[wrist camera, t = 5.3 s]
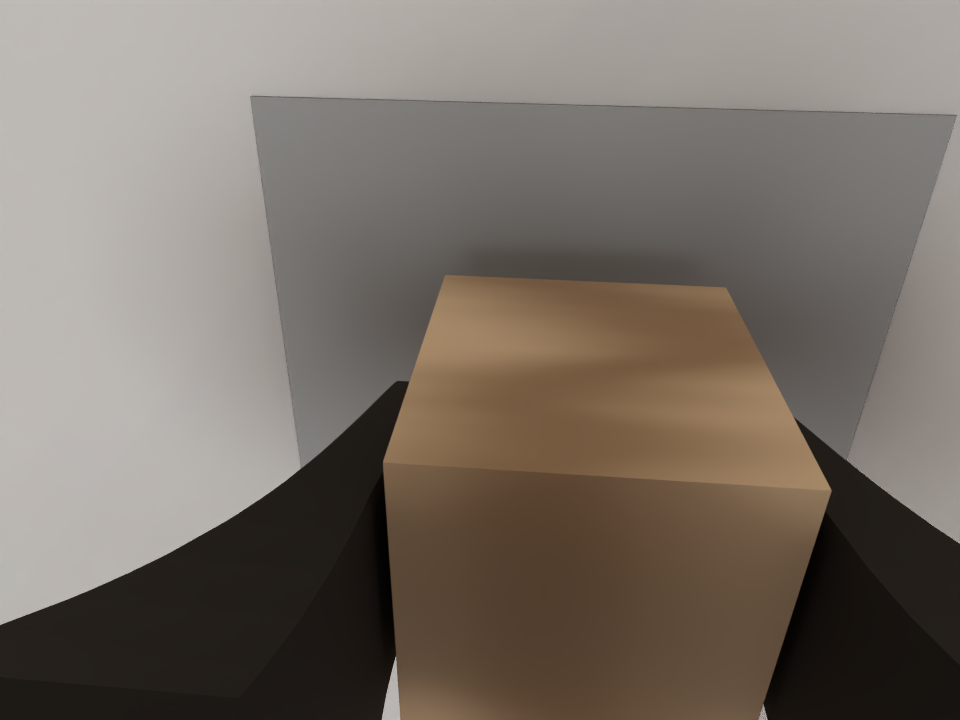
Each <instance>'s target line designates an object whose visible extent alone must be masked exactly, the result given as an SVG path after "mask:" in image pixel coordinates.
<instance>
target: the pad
mask: <svg viewBox="0 0 960 720" xmlns="http://www.w3.org/2000/svg"><path fill="white" fill-rule="evenodd" d="M250 99H251V106H252V113H253V121H254V128H255V135H256V142H257V150H258V157H259V164H260V172H261V179H262V186H263V193H264V201H265V208H266V215H267V223H268V230H269V237H270V244H271V252H272V259H273V266H274V274H275V281H276V288H277V295H278V303H279V310H280V317H281V325H282V332H283V339H284V346H285V354H286V361H287V368H288V376H289V383H290V390H291V397H292V405H293V412H294V419H295V427H296V434H297V441H298V448H299V456H300V463H301V468H302V467H304V466H305V465H306V464H307V463H309V462H310V461H311V460H312V459H313V458H315V457H316V456H317V455H318V454H319V453H321V452H322V451H323V450H324V449H325V448H326V447H327V446H328V445H330V444H331V443H332V442H333V441H334V440H335V439H336V438H337V437H338V436H339V435H340V434H342V433H343V432H344V431H345V430H346V429H347V428H348V427H349V426H350V425H351V424H352V423H353V422H354V421H356V420H357V419H358V418H359V417H360V416H361V415H362V414H363V413H364V412H365V411H366V410H367V409H368V408H369V407H370V406H371V405H372V404H373V403H374V402H375V401H376V400H377V399H378V398H379V397H380V396H381V395H382V394H383V393H384V392H385V391H386V390H387V389H388V388H389V387H390V386H391V385H393V384H394V383H395V382H396V381H410V379H411V376H412V373H413V370H414V367H415V364H416V361H417V358H418V355H419V352H420V349H421V346H422V343H423V340H424V337H425V334H426V331H427V328H428V325H429V322H430V319H431V316H432V313H433V310H434V307H435V304H436V301H437V298H438V295H439V292H440V289H441V286H442V283H443V280H444V277H445V275H456V276H479V277H502V278H524V279H547V280H570V281H592V282H615V283H638V284H660V285H683V286H706V287H726V289H727V290H728V292H729V294H730V296H731V298H732V300H733V302H734V304H735V306H736V308H737V310H738V312H739V314H740V315H741V317H742V319H743V321H744V323H745V325H746V327H747V329H748V331H749V333H750V335H751V337H752V338H753V340H754V342H755V344H756V346H757V348H758V350H759V352H760V354H761V356H762V358H763V360H764V362H765V363H766V365H767V367H768V369H769V371H770V373H771V375H772V377H773V379H774V381H775V383H776V385H777V387H778V388H779V390H780V392H781V394H782V396H783V398H784V400H785V402H786V404H787V406H788V408H789V410H790V412H791V413H792V415H793V417H794V418H796V419H797V420H798V421H799V422H801V423H802V424H803V425H804V426H805V427H807V428H808V429H809V430H810V431H811V432H813V433H814V434H815V435H816V436H817V437H819V438H820V439H821V440H822V441H823V442H825V443H826V444H827V445H828V446H829V447H831V448H832V449H833V450H834V451H835V452H837V453H838V454H839V455H840V456H841V457H843V458H844V459H845V460H846V459H847V456H848V453H849V450H850V447H851V444H852V441H853V438H854V435H855V431H856V428H857V425H858V422H859V419H860V416H861V413H862V410H863V407H864V403H865V400H866V397H867V394H868V391H869V388H870V385H871V382H872V379H873V375H874V372H875V369H876V366H877V363H878V360H879V357H880V354H881V351H882V347H883V344H884V341H885V338H886V335H887V332H888V329H889V326H890V323H891V319H892V316H893V313H894V310H895V307H896V304H897V301H898V298H899V295H900V291H901V288H902V285H903V282H904V279H905V276H906V273H907V270H908V266H909V263H910V260H911V257H912V254H913V251H914V248H915V245H916V242H917V238H918V235H919V232H920V229H921V226H922V223H923V220H924V217H925V214H926V210H927V207H928V204H929V201H930V198H931V195H932V192H933V189H934V186H935V182H936V179H937V176H938V173H939V170H940V167H941V164H942V161H943V158H944V154H945V151H946V148H947V145H948V142H949V139H950V136H951V133H952V130H953V126H954V123H955V120H956V117H957V116H956V115H932V114H895V113H858V112H821V111H785V110H748V109H711V108H674V107H637V106H600V105H563V104H526V103H489V102H452V101H415V100H378V99H341V98H304V97H267V96H251V97H250Z"/></svg>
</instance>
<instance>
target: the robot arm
mask: <svg viewBox="0 0 960 720" xmlns="http://www.w3.org/2000/svg"><path fill="white" fill-rule="evenodd" d="M409 382H410V381H396V382H395V383H394V384H393V385H391V386H390V387H389V388H388V389H387V390H386V391H385V392H384V393H383V394H382V395H381V396H380V397H379V398H378V399H377V400H376V401H375V402H374V403H373V404H372V405H371V406H370V407H369V408H368V409H367V410H366V411H365V412H364V413H363V414H362V415H361V416H360V417H359V418H358V419H357V420H356V421H354V422H353V423H352V424H351V425H350V426H349V427H348V428H347V429H346V430H345V431H344V432H343V433H342V434H340V435H339V436H338V437H337V438H336V439H335V440H334V441H333V442H332V443H331V444H330V445H328V446H327V447H326V448H325V449H324V450H323V451H322V452H321V453H319V454H318V455H317V456H316V457H315V458H313V459H312V460H311V461H310V462H309V463H307V464H306V465H305V466H304V467H302V468H301V469H300V470H299V471H297V472H296V473H295V474H294V475H293V476H291V477H290V478H289V479H288V480H286V481H285V482H284V483H282V484H281V485H280V486H278V487H277V488H276V489H274V490H273V491H271V492H270V493H269V494H267V495H266V496H264V497H263V498H261V499H260V500H258V501H257V502H255V503H254V504H252V505H251V506H249V507H248V508H246V509H245V510H243V511H242V512H240V513H239V514H237V515H236V516H234V517H232V518H231V519H229V520H227V521H226V522H224V523H222V524H221V525H219V526H217V527H215V528H213V529H212V530H210V531H208V532H206V533H205V534H203V535H201V536H199V537H197V538H196V539H194V540H192V541H190V542H188V543H187V544H185V545H183V546H181V547H179V548H178V549H176V550H174V551H172V552H171V553H169V554H167V555H165V556H163V557H161V558H159V559H157V560H155V561H153V562H151V563H149V564H147V565H144V566H142V567H140V568H138V569H136V570H134V571H132V572H130V573H128V574H126V575H123V576H121V577H119V578H117V579H114V580H112V581H110V582H108V583H105V584H103V585H101V586H99V587H97V588H94V589H92V590H90V591H87V592H85V593H82V594H80V595H78V596H75V597H73V598H70V599H68V600H65V601H63V602H60V603H57V604H55V605H52V606H49V607H47V608H44V609H42V610H39V611H36V612H34V613H31V614H28V615H26V616H23V617H20V618H18V619H15V620H12V621H10V622H7V623H4V624H2V625H0V720H382V714H383V709H384V703H385V698H386V693H387V689H388V684H389V680H390V676H391V672H392V668H393V664H394V660H395V657H396V646H395V631H394V617H393V602H392V588H391V573H390V559H389V544H388V530H387V516H386V501H385V487H384V472H383V460H384V457H385V454H386V451H387V448H388V445H389V442H390V439H391V436H392V433H393V430H394V427H395V424H396V421H397V418H398V415H399V412H400V409H401V406H402V403H403V400H404V397H405V394H406V391H407V388H408V385H409ZM794 419H795V421H796V423H797V425H798V427H799V429H800V431H801V433H802V435H803V436H804V438H805V440H806V442H807V444H808V446H809V448H810V450H811V452H812V454H813V456H814V458H815V460H816V461H817V463H818V465H819V467H820V469H821V471H822V473H823V475H824V477H825V479H826V481H827V483H828V485H829V486H830V488H831V490H832V491H831V494H830V497H829V500H828V504H827V507H826V510H825V513H824V516H823V519H822V522H821V525H820V529H819V532H818V535H817V538H816V541H815V544H814V547H813V550H812V553H811V557H810V560H809V563H808V566H807V569H806V572H805V575H804V578H803V582H802V585H801V588H800V591H799V594H798V597H797V600H796V603H795V606H794V610H793V613H792V616H791V619H790V622H789V625H788V628H787V631H786V634H785V638H784V641H783V644H782V647H781V650H780V653H779V656H778V659H777V663H776V666H775V669H774V672H773V675H772V678H771V681H770V684H769V687H768V691H767V694H766V697H765V700H764V703H763V704H764V707H765V711H766V715H767V719H768V720H960V544H959V543H958V542H956V541H955V540H953V539H952V538H950V537H949V536H947V535H946V534H944V533H943V532H941V531H940V530H938V529H937V528H935V527H934V526H932V525H931V524H929V523H928V522H927V521H925V520H924V519H923V518H921V517H920V516H918V515H917V514H916V513H914V512H913V511H911V510H910V509H909V508H907V507H906V506H904V505H903V504H902V503H900V502H899V501H898V500H896V499H895V498H893V497H892V496H891V495H890V494H888V493H887V492H886V491H884V490H883V489H882V488H880V487H879V486H878V485H876V484H875V483H874V482H873V481H871V480H870V479H869V478H868V477H866V476H865V475H864V474H862V473H861V472H860V471H859V470H857V469H856V468H855V467H854V466H852V465H851V464H850V463H849V462H848V461H846V460H845V459H844V458H843V457H841V456H840V455H839V454H838V453H837V452H835V451H834V450H833V449H832V448H831V447H829V446H828V445H827V444H826V443H825V442H823V441H822V440H821V439H820V438H819V437H817V436H816V435H815V434H814V433H813V432H811V431H810V430H809V429H808V428H807V427H805V426H804V425H803V424H802V423H801V422H799V421H798V420H797V419H796V418H794Z"/></svg>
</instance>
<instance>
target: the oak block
mask: <svg viewBox="0 0 960 720" xmlns="http://www.w3.org/2000/svg"><path fill="white" fill-rule="evenodd" d="M383 472H384V487H385V501H386V516H387V530H388V544H389V559H390V573H391V588H392V602H393V617H394V631H395V646H396V660H397V675H398V689H399V703H400V718H401V720H758V719H759V716H760V712H761V709H762V706H763V703H764V700H765V697H766V694H767V691H768V687H769V684H770V681H771V678H772V675H773V672H774V669H775V666H776V663H777V659H778V656H779V653H780V650H781V647H782V644H783V641H784V638H785V634H786V631H787V628H788V625H789V622H790V619H791V616H792V613H793V610H794V606H795V603H796V600H797V597H798V594H799V591H800V588H801V585H802V582H803V578H804V575H805V572H806V569H807V566H808V563H809V560H810V557H811V553H812V550H813V547H814V544H815V541H816V538H817V535H818V532H819V529H820V525H821V522H822V519H823V516H824V513H825V510H826V507H827V504H828V500H829V497H830V494H831V491H832V490H831V488H830V486H829V485H828V483H827V481H826V479H825V477H824V475H823V473H822V471H821V469H820V467H819V465H818V463H817V461H816V460H815V458H814V456H813V454H812V452H811V450H810V448H809V446H808V444H807V442H806V440H805V438H804V436H803V435H802V433H801V431H800V429H799V427H798V425H797V423H796V421H795V419H794V417H793V415H792V413H791V412H790V410H789V408H788V406H787V404H786V402H785V400H784V398H783V396H782V394H781V392H780V390H779V388H778V387H777V385H776V383H775V381H774V379H773V377H772V375H771V373H770V371H769V369H768V367H767V365H766V363H765V362H764V360H763V358H762V356H761V354H760V352H759V350H758V348H757V346H756V344H755V342H754V340H753V338H752V337H751V335H750V333H749V331H748V329H747V327H746V325H745V323H744V321H743V319H742V317H741V315H740V314H739V312H738V310H737V308H736V306H735V304H734V302H733V300H732V298H731V296H730V294H729V292H728V290H727V289H726V287H706V286H683V285H660V284H638V283H615V282H592V281H570V280H547V279H524V278H502V277H479V276H456V275H445V277H444V280H443V283H442V286H441V289H440V292H439V295H438V298H437V301H436V304H435V307H434V310H433V313H432V316H431V319H430V322H429V325H428V328H427V331H426V334H425V337H424V340H423V343H422V346H421V349H420V352H419V355H418V358H417V361H416V364H415V367H414V370H413V373H412V376H411V379H410V382H409V385H408V388H407V391H406V394H405V397H404V400H403V403H402V406H401V409H400V412H399V415H398V418H397V421H396V424H395V427H394V430H393V433H392V436H391V439H390V442H389V445H388V448H387V451H386V454H385V457H384V460H383Z"/></svg>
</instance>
